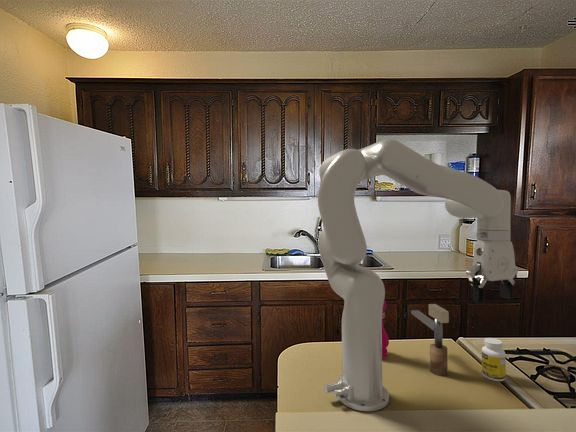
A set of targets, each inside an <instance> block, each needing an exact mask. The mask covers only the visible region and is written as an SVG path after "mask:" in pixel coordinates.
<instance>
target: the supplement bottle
mask: <svg viewBox="0 0 576 432" xmlns="http://www.w3.org/2000/svg"><path fill="white" fill-rule="evenodd" d="M506 355H507V354H506V352H505V350H504V349H503V341H502V340H500V339H498V338H494V337H493V338H492V337H486V338H484V346H482V348H481V374H482V376H483V377H484V378H486V379H488V380H491V381H494V382H503V381H505V380H506V378H505V377H507V376H506V375H507V374H506V363H507V362H506V361H507V359H506Z"/></svg>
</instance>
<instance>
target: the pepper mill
mask: <svg viewBox="0 0 576 432" xmlns="http://www.w3.org/2000/svg"><path fill="white" fill-rule="evenodd" d="M385 310H387V302H386V300H385V299H384V304H383V309H382V360H383V359H385V358H387V357H388V346H389V344H390V340H389V339H390V338H389V336H388V334H387V331H386V328H385V327H384V326H385V325H384V319H385V317H386V313H385Z"/></svg>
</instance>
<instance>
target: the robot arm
mask: <svg viewBox="0 0 576 432" xmlns="http://www.w3.org/2000/svg"><path fill="white" fill-rule="evenodd" d="M318 172H319V174H318V175H319V178H320V183H319V187H318V188H319V189H318V190H317V191H318V193H317V207H318V211H319V215H320V218H321V222H322V227H323V229H322V230H321V231H320V233H319V235H318V240H317V246H318V252H319V255H320V258H321V262H322V265H323V267H324V271H325V274H326V277H327V280H328V283H329V285H330V288H331V289H332V291H334V293H335V294H337V295H338V296H339V297H340V298H342V299H343V301H344V303H343V304H344V306H343V310H342V317H341V358H342V359H341V360H342V374H341V375H338V380H336V381H335V382H332V383H331V382H330V383H325V384H324V385H323V390H324V391H325V393H326V394H330V393H333V396H334V397H335V398H338V401H340V402H341V403H342V404H343V405H344V406H346V407H348V408H349V409H352V410H354V411H355V410H356V411H360V412H375V411H380V410H381V409H384V408H385V407H387V405H388V404H389V403H390V391H388V389H387V388H386V387H385V386H384V385H383V359H382V309H383V304H384V300H385V295H386V289H385V284H384V282H383V280H382V279H381V277H380V276H379V275H378V274H377V273H376V272H375V271H374V270H372V269H370V268H367V267H365V266H362V265H360V263H361V262H362V261H363V260H364V259H365V258H366V255H367V252H368V251H367V250H368V249H367V248H368V246H367V241H366V237H365V234H364V232H363V229H362V225H361V223H360V220H359V216H358V212H357V208H356V204H355V195H356V191H357V188H358V185H359V184H360V182H363V181H366V180H368V179H372V178H375V177H378V176H379V177H380V176H386V177H387V178H389V179H390V180H393V181H395V182H396V183H398V184H401V186H404V187H405V188H406V189H408V190H410V191H412V192H414V193H416V194H419V195H423V196H426V197H432V198H433V197H434V198H441V199H445V202H444V206H445V207H444V208H445V209H446V211H447V212H448V214H449V215H451V216H453V217H456V218H461V219H462V218H463V219H476V235H475V237H476V242H475V246H474V251H473V261H472V262H473V263H472V266H471V267H469V268H468V269H467V270H466V271H465V273H466V277H467V279H468V282H469V283H470V285H471V286H472V300H473V301H474V302H476V303H480V304H485V303H486V288H485V287H484V286H485V285H486V283H487V281H489V282H497V281H500V284H499V297H500V298H502V299H505V300H509V301H513V300H514V286H515V283H516V279H517V278H518V277H517V276H518V273H519V270H520V269H519V267H518V266H517V265H516V260H515V259H516V257H515V256H516V255H515V250H514V245H513V242H512V241H511V212H512V211H511V210H512V208H511V206H512V205H511V203H512V202H511V198H512V197H511V194H510V193H511V192H510V191H508V190H504V189H497V188H496V187H494V186H493V185H492V184H490V183H488V182H487V181H485V180H484V179H482V178H480V177H478V176H475V175H474V174H471V173H468V172H465V171H461V170H458V169H455V168H452V167H449V166H445V165H440V164H438V163H436V162H434V161H433V160H430V159H429V158H427V157H425V156H423V155H422V154H420V153H419V152H417V151H415V150H413V149H412V148H410V147H408V145H405V144H404V143H402V142H401V141H398V140H396V139H393V138H384V139H382V140H380V141H376V142H375V143H373V144H370V145H368V146H365V147H363V148H359V149H356V148H346V149H343V150H341V151H337V152H336V153H335V154H333V155H330V156H329V157H327V158H325V159H324V161H322V163H321V164H320V167H319V170H318Z"/></svg>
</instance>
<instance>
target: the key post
mask: <svg viewBox="0 0 576 432" xmlns="http://www.w3.org/2000/svg"><path fill="white" fill-rule="evenodd" d="M448 363H449V362H448V347H447V346H446V345H444V344H443V347H436V346H435V343H430V345H429V367H430V368H429V370H430V373H431V374H434V375H435V376H439V377H445V376H447V375H448V373H449V371H448V369H449V368H448V366H449V365H448Z"/></svg>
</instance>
